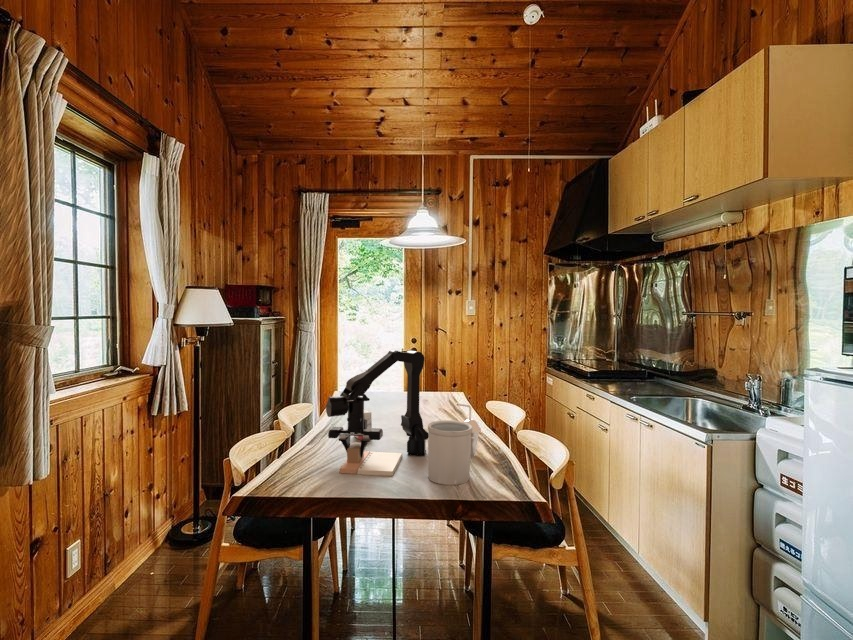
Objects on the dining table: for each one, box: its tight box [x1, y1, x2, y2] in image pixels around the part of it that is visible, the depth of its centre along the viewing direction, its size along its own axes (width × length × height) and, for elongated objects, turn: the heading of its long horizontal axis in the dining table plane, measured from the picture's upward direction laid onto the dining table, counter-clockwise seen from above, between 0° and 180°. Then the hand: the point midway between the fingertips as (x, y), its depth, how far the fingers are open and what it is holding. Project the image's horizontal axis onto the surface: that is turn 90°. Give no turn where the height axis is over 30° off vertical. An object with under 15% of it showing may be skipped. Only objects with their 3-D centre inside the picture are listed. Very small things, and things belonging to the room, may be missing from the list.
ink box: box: [353, 408, 373, 441], centre depth 201 cm, size 9×5×12 cm, turn 33°
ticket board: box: [356, 451, 403, 477], centre depth 167 cm, size 12×20×2 cm, turn 174°
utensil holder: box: [427, 419, 472, 486], centre depth 155 cm, size 15×15×18 cm
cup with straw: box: [456, 403, 482, 458], centre depth 179 cm, size 8×9×20 cm
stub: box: [338, 441, 371, 475], centre depth 168 cm, size 6×20×6 cm, turn 174°
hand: (355, 457), depth 168 cm, fingers closed on stub, 4 cm apart
